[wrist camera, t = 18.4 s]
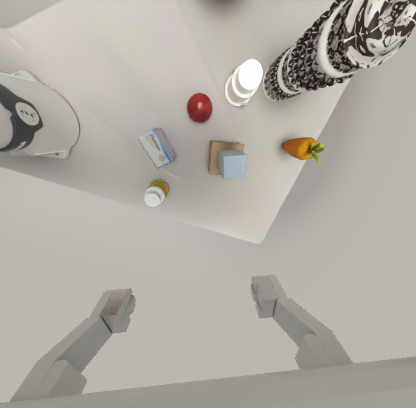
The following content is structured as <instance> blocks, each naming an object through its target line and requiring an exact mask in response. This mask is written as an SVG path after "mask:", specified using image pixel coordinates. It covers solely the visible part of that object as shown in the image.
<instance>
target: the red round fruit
mask: <svg viewBox="0 0 416 408" xmlns="http://www.w3.org/2000/svg"><path fill="white" fill-rule="evenodd" d="M187 109H188V113H189V115H190V117H191V118H192V119H193V120H194V121H196V122H199V123H200V122H205V121H206V120H207V119H209V117H210V115H211V112H212V104H211V101H210V99H209V97H208V96H206V95H205V94H202V93H198V94H194V95H193V96H192V97H191V98H190V99H189V101H188V106H187Z"/></svg>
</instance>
